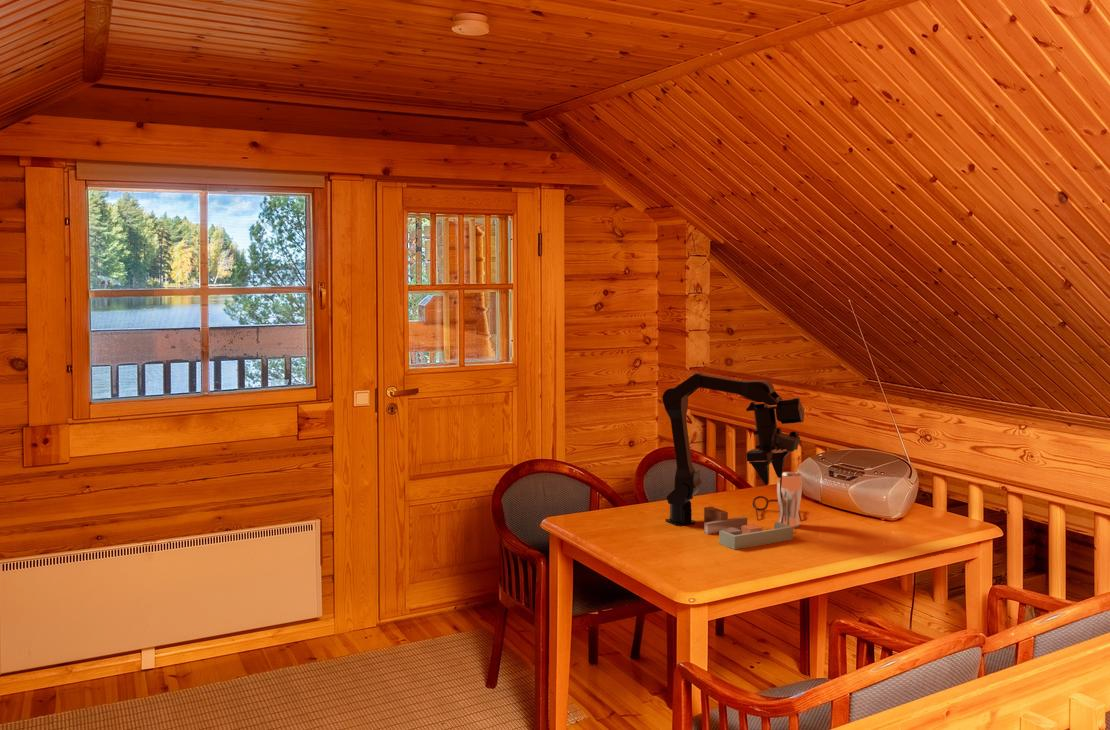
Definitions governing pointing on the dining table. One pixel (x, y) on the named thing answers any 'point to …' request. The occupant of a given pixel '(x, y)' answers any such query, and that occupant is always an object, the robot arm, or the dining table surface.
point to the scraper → (720, 520)
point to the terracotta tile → (750, 528)
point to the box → (757, 537)
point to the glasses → (767, 505)
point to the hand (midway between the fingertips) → (773, 480)
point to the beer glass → (789, 498)
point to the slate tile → (732, 531)
